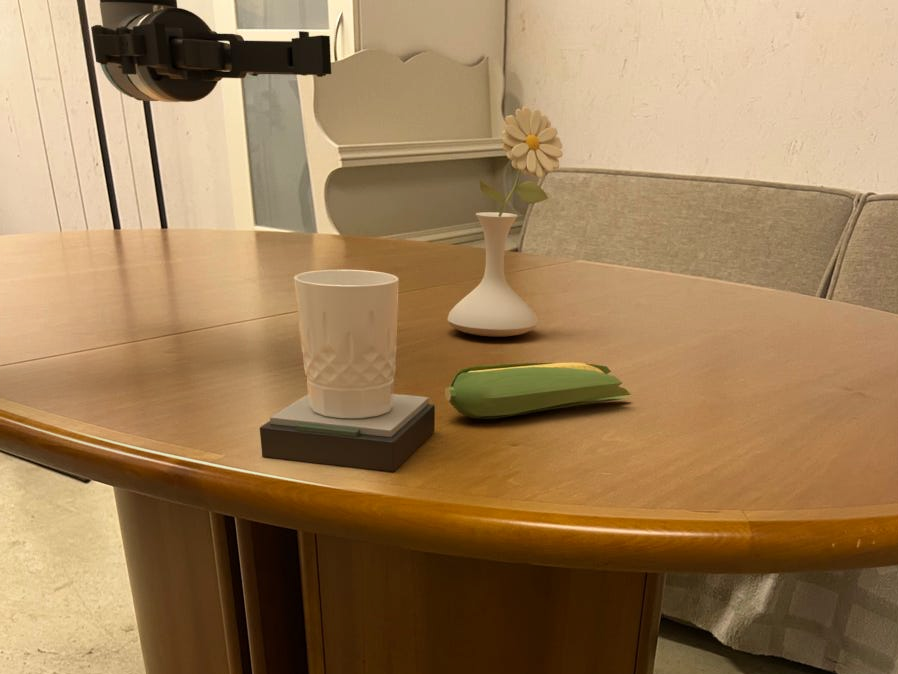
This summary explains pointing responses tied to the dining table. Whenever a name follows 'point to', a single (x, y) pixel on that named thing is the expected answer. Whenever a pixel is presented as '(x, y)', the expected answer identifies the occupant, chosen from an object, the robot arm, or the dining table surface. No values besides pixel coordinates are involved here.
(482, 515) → the dining table surface
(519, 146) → the flower in vase
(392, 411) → the scale
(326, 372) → the white cup
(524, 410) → the edible corn
